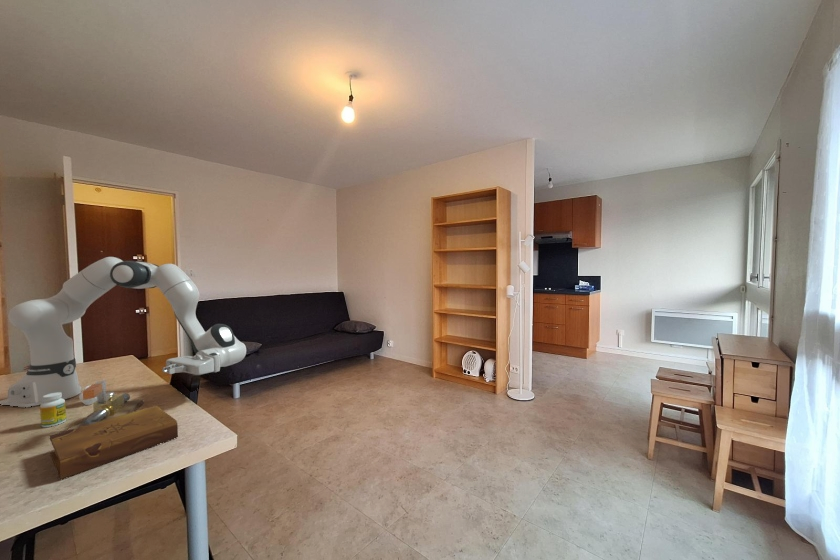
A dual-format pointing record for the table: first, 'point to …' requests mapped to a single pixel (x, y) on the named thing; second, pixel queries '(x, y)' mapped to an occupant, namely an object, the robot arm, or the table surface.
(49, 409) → the supplement bottle
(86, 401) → the muffin
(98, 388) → the valve lever
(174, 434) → the brown wooden block
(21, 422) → the table surface
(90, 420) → the ball valve
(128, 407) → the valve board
